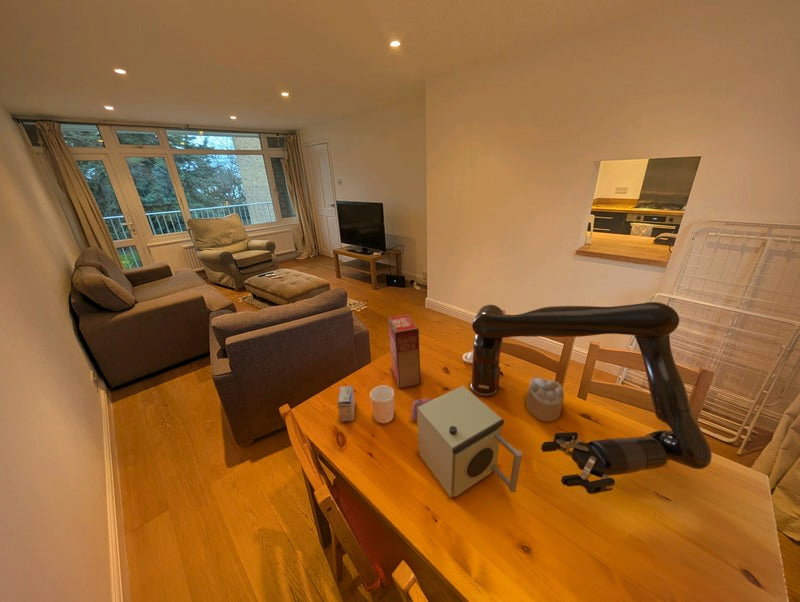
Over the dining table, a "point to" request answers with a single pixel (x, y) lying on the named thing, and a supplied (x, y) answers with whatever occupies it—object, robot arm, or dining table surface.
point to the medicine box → (346, 403)
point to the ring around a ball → (468, 357)
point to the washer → (452, 430)
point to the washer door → (484, 463)
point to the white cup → (382, 403)
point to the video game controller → (417, 404)
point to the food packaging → (405, 350)
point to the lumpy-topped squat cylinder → (545, 399)
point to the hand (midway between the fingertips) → (551, 463)
